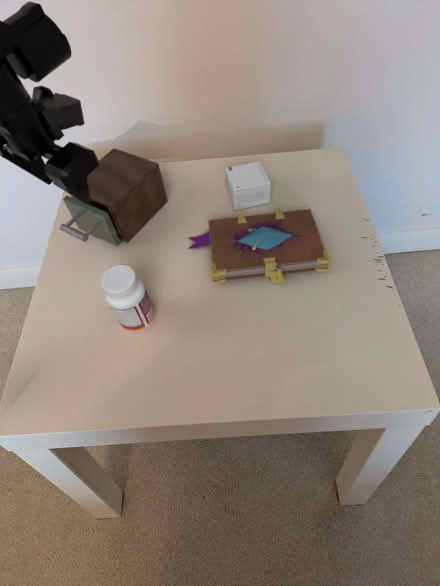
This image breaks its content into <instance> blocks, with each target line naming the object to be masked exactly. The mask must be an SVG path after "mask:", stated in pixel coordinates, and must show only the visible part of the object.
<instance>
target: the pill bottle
mask: <svg viewBox="0 0 440 586" xmlns="http://www.w3.org/2000/svg"><path fill="white" fill-rule="evenodd" d="M100 286H101V288H102V290H103V292H104V298H105V301H106V304H107V305H108V306H109V308H110V309H111V311H112V313H113V315H114V317H115V318H116V320H117V321H118V323H119V325H120V326H121V327H122V328H123V330H125V331H127V332H130V333H139V332H143V331H145V330H147V329H148V328H149V327H150V326H151V325H152V324H153V322H154V320H155V316H156V311H155V307H154V305H153V303H152V301H151V298H150V296H149V293H148V291H147V289H146V286H145V284H144V282H143V281H142V279H141V278H139V277H138V276H137V274H136V272H135V270H134V269H133V268H132V267H131V266H129V265H126V264H117V265H113V266H111V267H110V268H108V269H107V270H105V271H104V272H103V274H102V276H101V278H100Z"/></svg>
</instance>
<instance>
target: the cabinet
mask: <svg viewBox="0 0 440 586" xmlns="http://www.w3.org/2000/svg"><path fill="white" fill-rule="evenodd" d="M98 160H99V166H98V167H97V168H95V169H94V170H93V171H92V172H91V173H90V174H89V175H88V176H87V180H88V188H89V194H90V200H92V201H95V202H97V203H99V204H102V205H104V206H106V207H109V208H111V210H112V213H113V215H114V218H115V220H116V222H117V225H118V227H119V229H120V232H121V234H122V235H119V234H117V235H118V238H119V240H120V241H122V242H124V243H126V244H128V243H130V241H132V239H133V238H134V237H136V235H137V234H138V233H139V232H140V231H141V230H142V229H143V228H144V227H145V226H146V225H147V224H148V223H149V222H150V221H151V220H152V219H153V218H154V216H155V215H156V214H157V213H158V212H160V211H161V209H163V207H164V206H165V205H166V204H168V202H169V200H168V196H167V193H166V189H165V184H164V180H163V176H162V173H161V167H160V164H159V162H156V161H153V160H150V159H148V158H147V159H146V158H144V157H141V156H139V155H136V154H132V153H130V152H126V151H124V150H121V149H119V148H118V149H117V148H115V147H113V148H112V149H111V150H109V152H107V153H106V154H105V155H104V156H103V157H101V158H100V159H98ZM70 197H72V198H74V197H73V196H71V195H70ZM74 199H76V198H74Z"/></svg>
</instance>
